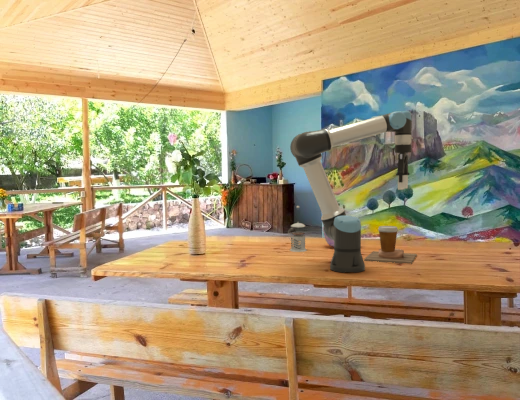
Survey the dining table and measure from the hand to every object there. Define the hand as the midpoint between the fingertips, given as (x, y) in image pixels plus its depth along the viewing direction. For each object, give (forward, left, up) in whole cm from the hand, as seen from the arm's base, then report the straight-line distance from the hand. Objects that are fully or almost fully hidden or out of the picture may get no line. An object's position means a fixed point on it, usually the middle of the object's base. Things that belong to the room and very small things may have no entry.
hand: (402, 189), depth 214 cm
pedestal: (+4, +6, -35) cm, 35 cm away
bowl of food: (+27, +38, -35) cm, 58 cm away
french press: (+10, +58, -35) cm, 68 cm away
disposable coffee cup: (+1, +7, -31) cm, 32 cm away
